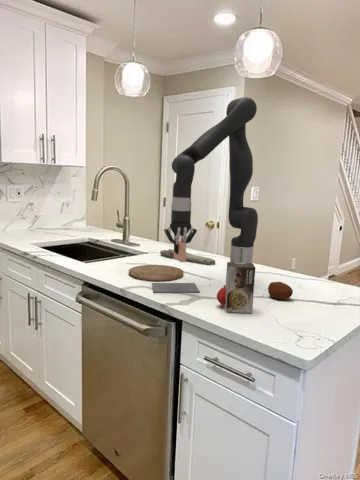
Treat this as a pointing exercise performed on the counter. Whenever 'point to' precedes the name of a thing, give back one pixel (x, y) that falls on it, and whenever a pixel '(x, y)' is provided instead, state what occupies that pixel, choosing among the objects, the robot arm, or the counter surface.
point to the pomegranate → (222, 296)
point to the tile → (181, 252)
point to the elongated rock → (189, 257)
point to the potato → (280, 290)
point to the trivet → (156, 273)
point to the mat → (175, 288)
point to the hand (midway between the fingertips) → (179, 253)
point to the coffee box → (239, 287)
